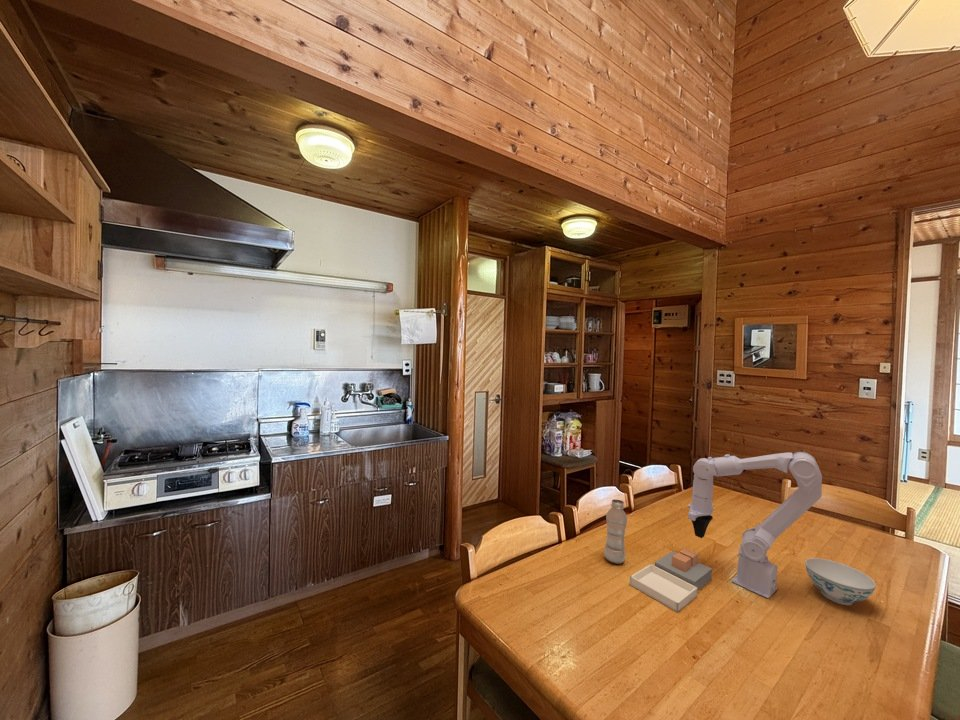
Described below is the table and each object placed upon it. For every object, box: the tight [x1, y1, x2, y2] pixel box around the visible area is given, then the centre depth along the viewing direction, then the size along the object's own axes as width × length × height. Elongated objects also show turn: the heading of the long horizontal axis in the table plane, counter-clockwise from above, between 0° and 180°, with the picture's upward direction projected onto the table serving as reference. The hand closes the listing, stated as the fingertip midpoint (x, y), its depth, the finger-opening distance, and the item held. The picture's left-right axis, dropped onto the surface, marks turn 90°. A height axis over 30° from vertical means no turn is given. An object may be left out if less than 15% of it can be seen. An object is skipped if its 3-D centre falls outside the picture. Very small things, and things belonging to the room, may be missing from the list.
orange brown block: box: [679, 547, 699, 567], centre depth 120 cm, size 4×4×3 cm
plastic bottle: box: [603, 499, 628, 565], centre depth 124 cm, size 6×7×20 cm
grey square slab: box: [654, 550, 713, 591], centre depth 118 cm, size 12×12×4 cm
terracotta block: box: [671, 552, 691, 572], centre depth 117 cm, size 4×4×3 cm
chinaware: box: [804, 557, 877, 606], centre depth 111 cm, size 15×15×8 cm
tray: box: [629, 563, 699, 613], centre depth 110 cm, size 14×12×2 cm
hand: (699, 536), depth 124 cm, fingers closed
